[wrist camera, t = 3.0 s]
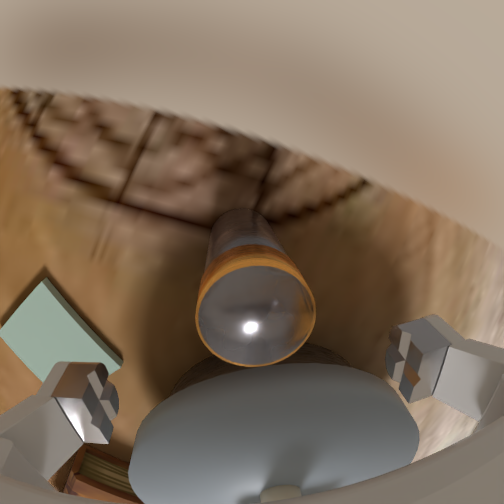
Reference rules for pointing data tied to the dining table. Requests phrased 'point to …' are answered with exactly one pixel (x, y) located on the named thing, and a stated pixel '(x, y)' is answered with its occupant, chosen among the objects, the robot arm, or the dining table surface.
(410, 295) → the dining table surface
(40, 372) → the mat
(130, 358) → the dining table surface
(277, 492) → the dial
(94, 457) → the diary
